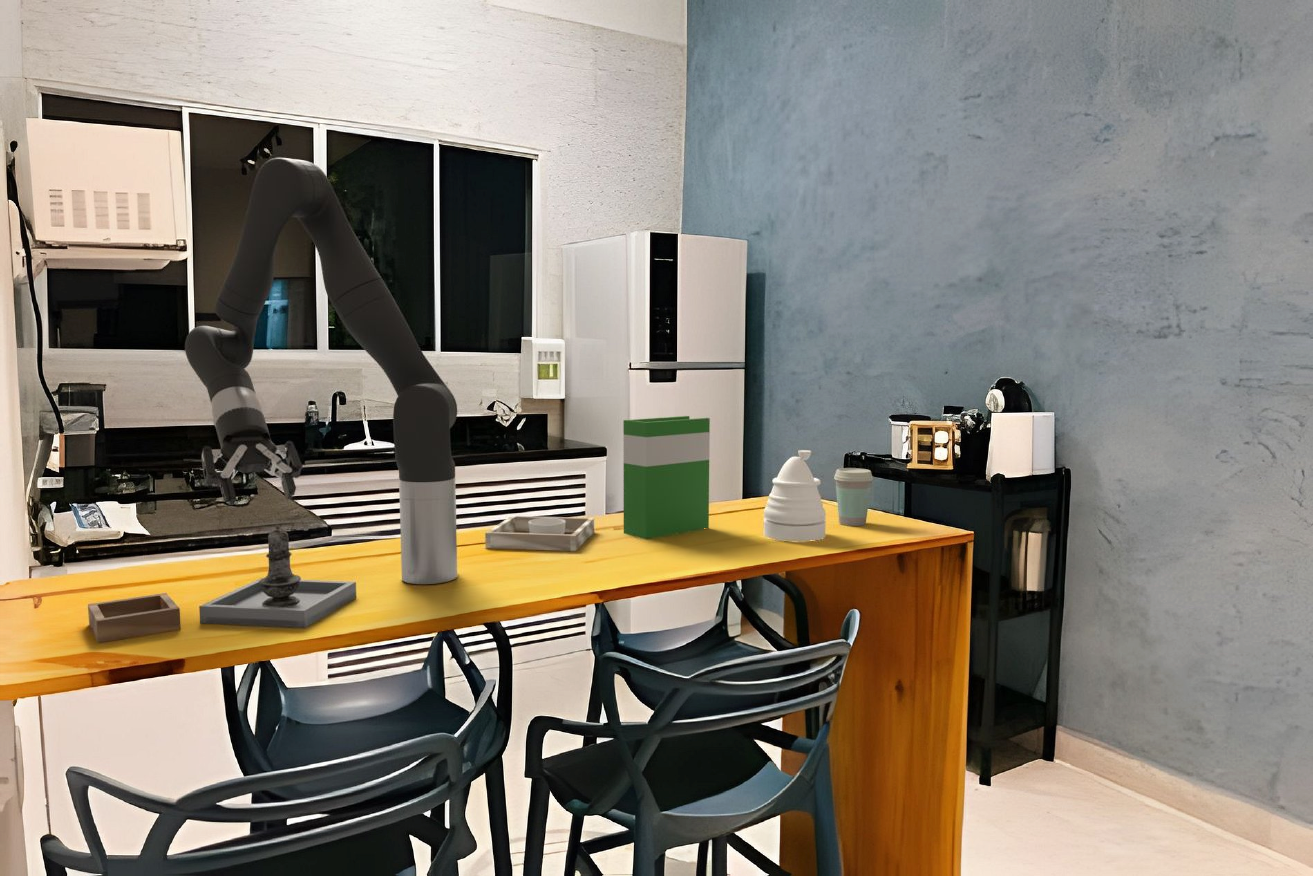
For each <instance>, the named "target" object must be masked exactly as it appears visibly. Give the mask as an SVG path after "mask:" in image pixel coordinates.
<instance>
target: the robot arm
mask: <svg viewBox="0 0 1313 876" xmlns="http://www.w3.org/2000/svg"><path fill="white" fill-rule="evenodd" d="M292 218H297V220H298V221H299V222H300V223H301V225H302V226H303V228H304V230H305V231H306V232H307V234H308V235H309V237H310V239H311V241H312V242H313V244H314V246H315V249H316V250H317V253H318V256H319V260H320V266H321V273H322V274H321V275H322V279H323V284H324V289H325V292H326V295H327V297H328V301H330V304H331V306H332V307H333V308H334V310H335V312H336V314H337V315H338V318H339V319H340V320H341V321H342V323H343V325H344V327H345V328H346V329H347V331H348V332H349V334H350V335H351V337H352V338H353V339H354V340H355V341H356V342H357V343H358V344H359V346H361V348H362V349H364V351H365V352H367V354H368V355H369V356H370V357H371V358H372V359H373V360H374V362H376V363H377V364H378V366H379V367H380V368H381V369H382V371H383V372H384V373H385V375H386V376H387V378H388V380H389V383H391V386H392V387H393V389H394V391H395V393H396V395H397V396H396V397H397V398H396V399H395V402H394V406H393V416H392V423H393V424H392V425H393V427H392V428H393V429H392V430H393V442H394V456H395V457H394V458H395V463H396V466H397V468H398V469H397V470H398V481H399V482H398V485H399V486H398V487H399V490H398V491H399V492H398V493H399V519H400V520H399V522H400V523H399V525H400V558H401V559H400V563H401V565H400V566H401V580H402V582H405V583H407V584H414V585H436V584H442V583H446V582H451V581H453V580H455V579H457V577H458V546H457V545H458V544H457V543H458V542H457V540H458V539H457V500H456V499H457V497H456V496H457V495H456V463H455V461H454V459H453V456H452V450H451V448H452V447H451V430H450V429H451V428H452V427H453V426H454V424H455V422H456V420H457V418H458V417H457V415H458V405H457V401H456V398H455V396H454V394H453V392H452V391H451V390H450V388H449V387H448V386H447V385H446V383H445V382H444V381H443V380H442V378H441V376H440V375H439V374H438V372H437V371H436V370H435V369H434V367H433V365H432V364H431V363H430V361H429V360H428V359H427V357H426V355H425V354H424V353H423V351H422V350H421V348H420V346H419V344H418V342H417V340H416V338H415V336H414V334H413V332H412V330H411V328H410V325H409V324H408V323H407V321H406V319H405V317H404V315H403V314H402V311H401V310H400V307H399V306H398V304H397V301H396V300H395V299H394V297H393V295H392V293H391V291H390V289H389V288H388V286H387V284H386V283H385V281H384V279H383V278H382V277H381V275H380V273H379V271H378V270H377V268H376V267H375V265H374V263H373V262H372V260H371V258H370V257H369V255H368V253H367V251H366V250H365V248H364V246H363V244H362V243H361V242H360V240H359V239H358V236H357V235H356V233H355V232H354V230H353V229H352V228H353V227H352V226H351V224H350V223H349V221H348V218H347V217H346V214H345V211H344V209H343V207H342V205H341V203H340V201H339V199H338V196H337V194H336V192H335V190H334V187H333V185H332V184H331V181H330V180H329V177H327V175H326V173H325V172H324V171H323V170H322V169H321V168H320V167H319V166H318V165H317V164H315V163H313V162H310V161H308V160H302V159H296V158H287V157H275V158H270V159H269V160H267V161H265V162H264V163H263V164H262V165H261V166H260V168H259V169H258V171H257V173H256V176H255V179H254V182H253V185H252V188H251V194H250V198H249V201H248V206H247V210H246V214H245V218H244V223H243V227H242V229H241V234H240V239H239V242H238V246H237V249H236V252H235V256H234V259H233V261H232V263H231V266H230V269H229V271H228V272H227V276H226V277H225V280H224V282H223V284H222V287H221V289H220V291H219V294H218V296H217V298H216V301H215V303H214V312H215V314H216V315H217V317H218V318H219V319H221V320H222V321H224V322H225V323H227V324H230V325H232V326H234V327H233V328H234V329H232V330H227V329H223V328H218V327H215V326H214V327H213V326H209V325H199V326H196V327H194V328H192V330H190V331H189V333H188V335H187V336H186V339H185V342H184V351H185V356H186V359H187V361H188V363H189V365H190V367H191V368H192V370H193V371H194V372H195V374H196V375H197V376H198V379H199V380H200V381H201V382H202V384H203V385H204V387H206V389H207V393H208V397H209V401H210V405H211V415H212V420H213V425H214V426H215V430H216V434H217V438H218V441H219V445H220V449H219V448H218V449H212V447H211V446H209V445H205V446H203V447H202V451H201V452H202V453H201V458H200V459H201V464H202V465H201V466H202V470H203V471H202V472H203V476H204V483H205V484H206V485H208V486H212V485H217V486H219V488H220V492H221V495H222V499H223V501H224V502H225V503H228V505H229V506H234V505H235V504H236V500H237V497H236V492H235V488H234V483H233V481H232V480H233V479H234V477H235V476H236V474H238V472H239V473H240V472H241V474H249V473H252V472H254V473H262V472H263V471H265V472H266V473H268V474H269V475H270V476H275V477H276V478H278V479H279V480H280V481H281V486H282V491H283V493H284V496H285V500H292V499H293V496H295V493H296V490H297V487H296V483H295V479H298V478H300V476H301V471H302V469H303V464H302V462H301V458H300V456H299V454H298V451H297V449H296V446H295V444H294V442H293V441H292V440H286V441H285V444H279V445H278V444H277V445H276V444H275V443H274V442H273V441H272V439H271V436H270V435H271V434H270V432H269V428H268V425H267V422H266V418H265V415H264V411H263V409H262V405H261V403H260V401H259V398H258V397H257V393H256V391H255V388H254V384H253V380H252V378H251V375H250V374H249V372H248V370H246V368H247V367H248V366H249V365H250V363H251V361H252V359H253V355H254V343H255V336H256V331H257V325H258V320H259V317H260V315H261V313H262V310H263V309H264V306H265V304H266V302H267V300H268V297H269V295H270V292H271V290H272V286H273V281H274V278H275V277H274V274H275V256H276V255H275V253H276V250H277V245H278V242H279V239H280V237H281V235H282V233H283V231H284V229H285V227H286V226H287V224H288V223H289V222H290V220H291V219H292ZM277 454H278V455H280V456H281V457H282V459H283V460H285V461H286V463H285V462H283V461H282V459H281V457H279V456H278V455H277ZM219 458H220V459H221V460H222V461H224V462H225V463H226V465H225V467H224V468H223V470H222V471H221V472H217V471H216V467H215V463H216V462H217V461H218V459H219ZM294 478H295V479H294Z"/></svg>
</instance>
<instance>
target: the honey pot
mask: <svg viewBox="0 0 1313 876" xmlns="http://www.w3.org/2000/svg"><path fill="white" fill-rule="evenodd" d="M797 452H798V456H791V457H790V458H789V459H787V460H786V462H784V464H783V465H782V467H781V469H780V470H779V473H778V474H777V476H776V477H774V478H773V479H772V484H773V486H772V489H771V492H770V493H769V495H768V499H767V502H766V506H765V507H764V510H763V535H765V536H764V537H765V538H766V537H769V538H772V539H775V540H774V541H777V540H785V541H810V540H819V541H821V540H820V539H822V538H824V537H825V538H826V525H827V524H826V515H827V514H826V509H825V508H824V506H823V505H824V504H823V502H822V496H821V494H820V492H819V489H818V486H820V485H821V479H819V478H817V477H814V475H813V474H812V471H811V470H810V467H809V466H808V464H807V463H806V462H805V461H807V460H808V459H809V458H810V457H811V454H812V450H804V449H800V450H798V451H797ZM825 538H824V539H825ZM772 539H771V540H772ZM822 540H823V539H822Z"/></svg>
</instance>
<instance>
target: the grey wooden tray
mask: <svg viewBox="0 0 1313 876" xmlns="http://www.w3.org/2000/svg"><path fill="white" fill-rule="evenodd" d="M540 518H558V519H563V520H565V521H566V523H565V531H564V534H538V533H530V531H529V524H528V522H529V521H530V520H533V519H540ZM573 532H574V533H573ZM565 533H566V534H565ZM567 533H571V534H567ZM594 533H595V518H594V517H563V516H559V517H558V516H531V515H530V516H529V515H528V516H525V515H510V516H509V517H507V518H506V519H505V520H503V521H501V522H500V523H498V524H497V525H496V526H494V527H492V528H491V529H489V530H488V531H485V533H484V536H485V537H484V540H485V541H484V542H485V543H484V545H485V549H501V550H502V549H504V550H506V549H508V550H531V551H533V550H534V551H537V550H539V551H559V552H560V551H564V552H569V551H570V552H576V551H578V549H579V548H580V547H581V546H582V545H583V544H584V543H585V542H587V540H588V539H589V538H590V537H591V536H592V535H593V534H594Z"/></svg>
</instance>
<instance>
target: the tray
mask: <svg viewBox="0 0 1313 876" xmlns="http://www.w3.org/2000/svg"><path fill="white" fill-rule="evenodd" d="M263 578H264V577H261V578H258V579H257V580H253V581H251V582H250V583H247V584H246V585H242V586H241V587H239V588H236V589H234V590H232V591H229V592H228V593H225V594H223V595H221V596H219V597H217V598H214V599H212V600H210V601H207V602H206V603H202V604H200V605H199V606H198V607H199V624H207V625H208V624H209V625H211V624H213V625H232V626H233V625H234V626H251V627H252V626H253V627H275V628H276V627H277V628H293V629H295V628H298V629H306V628H308V627H310V626H311V625H312V624H315V623H316V622H318V621H320V620H321V619H323V618H324V617H326V616H328V615H329V614H331V613H333V612H335V611H336V610H338V609H339V608H341V607H343V606H345V605H346V604H347V603H349V602H351V601H353V600H355V599H356V598H357V582H356V581H344V580H343V581H341V580H320V579H319V580H317V579H313V580H312V579H301V580H300V581H299V586H298V589H297V590H296V591H295V593H294V594H292V595H290V596H294V597H296V598H298V599H299V600H300V602H299V603H297V604H295V605H292V606H288V607H280V608H278V607H264V606H263V605H262V603H263V602H264V601H265V600H267V599H269V598H272V597H269V596H267V595H266V594H265V593H264V592H263V590H262V586H261V584H260V583H259V581H260V580H261V579H263Z"/></svg>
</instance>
